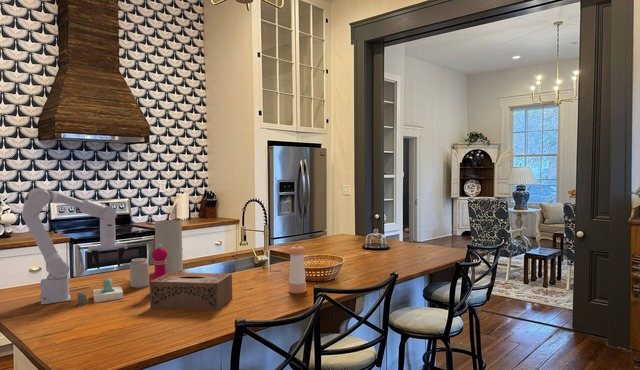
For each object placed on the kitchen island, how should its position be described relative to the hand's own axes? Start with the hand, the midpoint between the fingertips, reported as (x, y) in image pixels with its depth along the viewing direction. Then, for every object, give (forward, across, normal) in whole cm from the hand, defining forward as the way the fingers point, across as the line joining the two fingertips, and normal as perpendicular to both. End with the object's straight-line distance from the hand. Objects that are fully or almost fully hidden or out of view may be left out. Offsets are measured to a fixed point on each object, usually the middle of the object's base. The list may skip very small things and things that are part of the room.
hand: (108, 267), depth 178 cm
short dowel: (+10, -10, -15) cm, 21 cm away
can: (+10, +12, +1) cm, 16 cm away
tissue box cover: (+10, +26, -36) cm, 46 cm away
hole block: (+10, -1, -10) cm, 14 cm away
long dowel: (+10, -1, -10) cm, 14 cm away
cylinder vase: (+10, +28, +24) cm, 39 cm away
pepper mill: (+10, +18, -15) cm, 26 cm away
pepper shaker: (+10, +67, -42) cm, 80 cm away
